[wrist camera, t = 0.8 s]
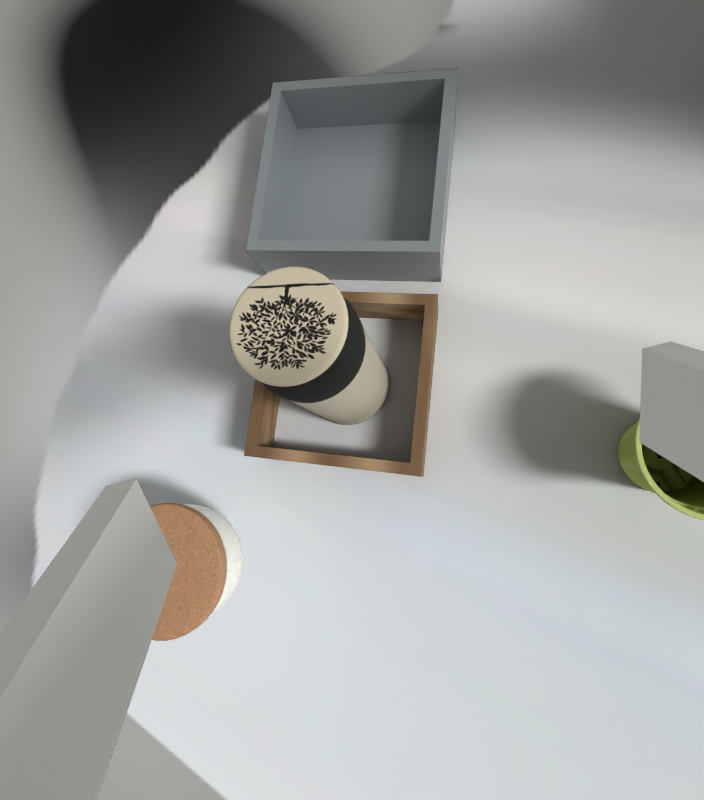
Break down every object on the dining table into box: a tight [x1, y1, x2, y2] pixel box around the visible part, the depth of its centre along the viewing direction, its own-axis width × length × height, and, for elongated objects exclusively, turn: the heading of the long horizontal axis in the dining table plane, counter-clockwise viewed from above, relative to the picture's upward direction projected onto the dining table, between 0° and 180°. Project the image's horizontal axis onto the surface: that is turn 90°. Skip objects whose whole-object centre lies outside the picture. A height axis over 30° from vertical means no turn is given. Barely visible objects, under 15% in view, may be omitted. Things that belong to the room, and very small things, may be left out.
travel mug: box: [229, 267, 389, 425], centre depth 35 cm, size 8×8×18 cm
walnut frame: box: [244, 292, 438, 477], centre depth 42 cm, size 16×16×4 cm
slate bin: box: [246, 68, 457, 282], centre depth 44 cm, size 18×18×6 cm
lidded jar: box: [150, 503, 243, 641], centre depth 39 cm, size 11×11×9 cm
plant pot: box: [618, 418, 704, 520], centre depth 33 cm, size 9×9×9 cm
